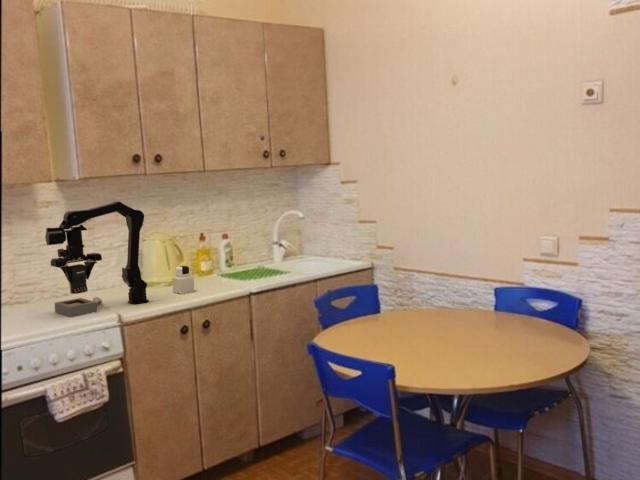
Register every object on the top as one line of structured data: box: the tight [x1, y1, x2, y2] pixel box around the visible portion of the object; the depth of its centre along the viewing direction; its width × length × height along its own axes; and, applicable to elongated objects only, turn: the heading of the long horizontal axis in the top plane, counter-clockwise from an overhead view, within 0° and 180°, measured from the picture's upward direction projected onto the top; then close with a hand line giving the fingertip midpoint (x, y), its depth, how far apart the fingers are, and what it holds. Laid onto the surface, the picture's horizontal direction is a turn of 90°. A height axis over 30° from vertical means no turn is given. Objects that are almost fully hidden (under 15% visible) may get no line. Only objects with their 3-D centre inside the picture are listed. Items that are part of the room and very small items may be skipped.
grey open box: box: [53, 297, 98, 318], centre depth 246 cm, size 11×14×4 cm
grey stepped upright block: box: [171, 265, 195, 295], centre depth 279 cm, size 7×7×12 cm
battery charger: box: [68, 263, 88, 295], centre depth 245 cm, size 7×4×11 cm, turn 142°
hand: (78, 280), depth 245 cm, fingers closed on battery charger, 7 cm apart
